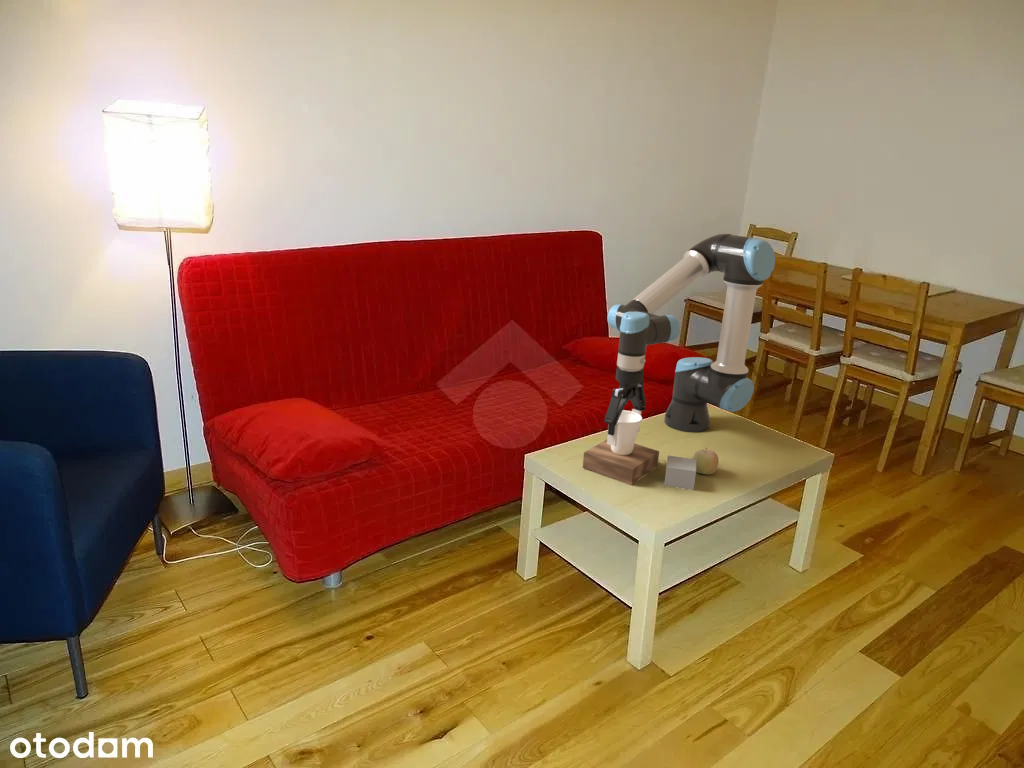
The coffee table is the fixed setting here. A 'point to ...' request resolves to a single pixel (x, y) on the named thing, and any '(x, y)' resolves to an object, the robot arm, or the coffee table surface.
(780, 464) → the coffee table surface
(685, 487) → the grey block
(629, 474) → the walnut block
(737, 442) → the coffee table surface
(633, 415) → the cup
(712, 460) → the fruit
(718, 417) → the coffee table surface
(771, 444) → the coffee table surface
